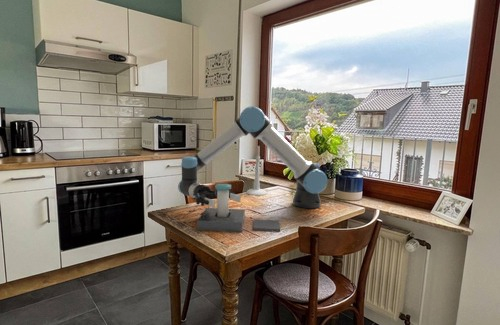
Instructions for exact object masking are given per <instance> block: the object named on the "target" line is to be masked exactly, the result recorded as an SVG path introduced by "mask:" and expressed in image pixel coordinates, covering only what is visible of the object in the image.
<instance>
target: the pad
mask: <svg viewBox="0 0 500 325" xmlns="http://www.w3.org/2000/svg"><path fill="white" fill-rule="evenodd" d="M280 225H281V224H280V220H278V219H277V220H276V219H257V218H255V219H253V226H252V227H253V229H252V231H260V232H261V231H262V232H263V231H264V232H281V226H280Z"/></svg>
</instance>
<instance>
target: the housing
mask: <svg viewBox="0 0 500 325" xmlns="http://www.w3.org/2000/svg"><path fill="white" fill-rule="evenodd" d="M245 218H246V209H244V208H243V209H242V208H241V209H240V208H229V217H217V207H214V208H213V207H205V209H204V210H203V212H202V213H201V214H200V217H199V218H198V219H197V231H212V232H213V231H215V232H231V233H232V232H233V233H243V227H244V222H245Z"/></svg>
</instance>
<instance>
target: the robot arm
mask: <svg viewBox="0 0 500 325" xmlns="http://www.w3.org/2000/svg"><path fill="white" fill-rule="evenodd" d="M248 135H250V136H251V137H252V138H253V139H255V140H259V141H261V142H262V143H263V145H265V146H266V147H267V148H268V149H269V150H270V151H271V152H272V153H273V154H274V155H275V156H276V157H277V158H278V159H279V160H280V161H281V162H282V163H283V164H284V165H285V166H286V167H287V168H288V169H289V170H290V171H291V172H293V178H294V179H295V180H296V190H295V193H294V195H293V198H292V205H293V206H295V207H297V208H301V209H303V208H304V209H317V208H320V207H321V205H322V204H321V198H320V193H322V192H323V191H324V190H325V189H326V187H327V186H328V185H327V184H328V177H327V175H326V173H325V172H324V171H323V170H321V166H320V164H319V163H314V162H313V161H312V160H306V158H304V157H303V155H302V154H300V153H299V151H297V150H296V148H294V147H293V145H291V143H289V142H288V141H287V139H285V138H284V136H282V135H281V134H280V133H279V132H278V130H277V129H275V127H273V122H272V120H271V119H270V118H269V117H268V116H267V115H266V114H265V113H264V111H263V110H262V109H261V108H260V107H257V106H252V105H251V106H248V107H246V108H244V109H242V111H241V113H240V115H239V117H238V118H237V119H235V121H234V123H233V124H232V125H231V126H230V127H229V128H228V129H226V130H225V131H224V132H222V133H221V134H220V135H219V136H217V137H216V138H215V139H214V140H212V141H211V142H210V143H208V144H207V145H206V146H205V147H203V148H202V149H201V150H200V151H199V152H197V153H196V154H195V155H194V156H184V157H182V158H181V163H180V164H181V180H180V181H179V183H178V185H177V189H178V192H180V193H181V194H182V195H184V196H187V197H189V198H193V200H195V204H196V205H200V206H201V207H203V206H205V205H206V206H208V207H209V208H216V201H215V200H214V199H216V200H217V190H216V189H215V190H213V189H211V188H210V186H208V185H205V184H202V183H199V182H198V172H199V171H200V170H201V169H203V168H204V167H205V166H206V165H208V163H210V162H211V161H213V160H214V159H215V158H216V157H217V156H219V155H220V154H221V153H223V152H224V151H225V150H226V149H227V150H228V148H229V147H231V146H232V145H233V144H235V143H236V142H237V141H238V140H239V139H240V138H242V137H246V136H248ZM241 197H242V196H241V195H239V194H236V193H235V191H232V190H231V191H230V190H229V200H231V201H233V202H236V203H241Z"/></svg>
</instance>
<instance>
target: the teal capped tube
mask: <svg viewBox="0 0 500 325" xmlns="http://www.w3.org/2000/svg"><path fill="white" fill-rule="evenodd" d="M214 185H215V186H214V190H215V191H216V190H217V199H216V208H217V217H229V209H230V198H229V191H230V190H231V189H232V184H230V183H216V184H214Z"/></svg>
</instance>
